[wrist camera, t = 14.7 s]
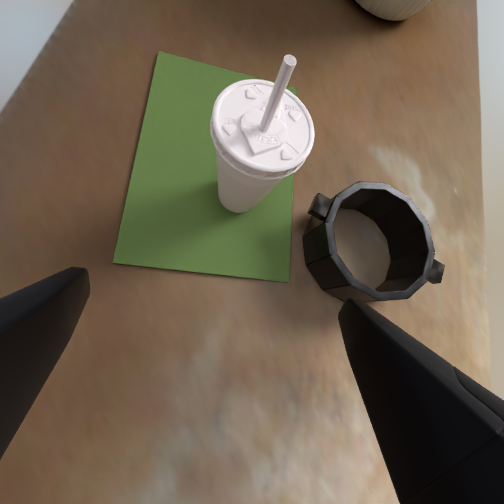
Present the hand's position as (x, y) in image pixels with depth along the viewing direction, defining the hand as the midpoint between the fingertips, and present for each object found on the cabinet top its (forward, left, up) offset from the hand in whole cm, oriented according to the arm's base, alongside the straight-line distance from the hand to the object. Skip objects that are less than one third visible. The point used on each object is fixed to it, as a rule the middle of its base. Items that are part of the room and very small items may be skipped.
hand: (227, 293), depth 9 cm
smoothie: (+9, -5, -13) cm, 17 cm away
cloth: (+13, -4, -13) cm, 19 cm away
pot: (+2, -15, -13) cm, 20 cm away
